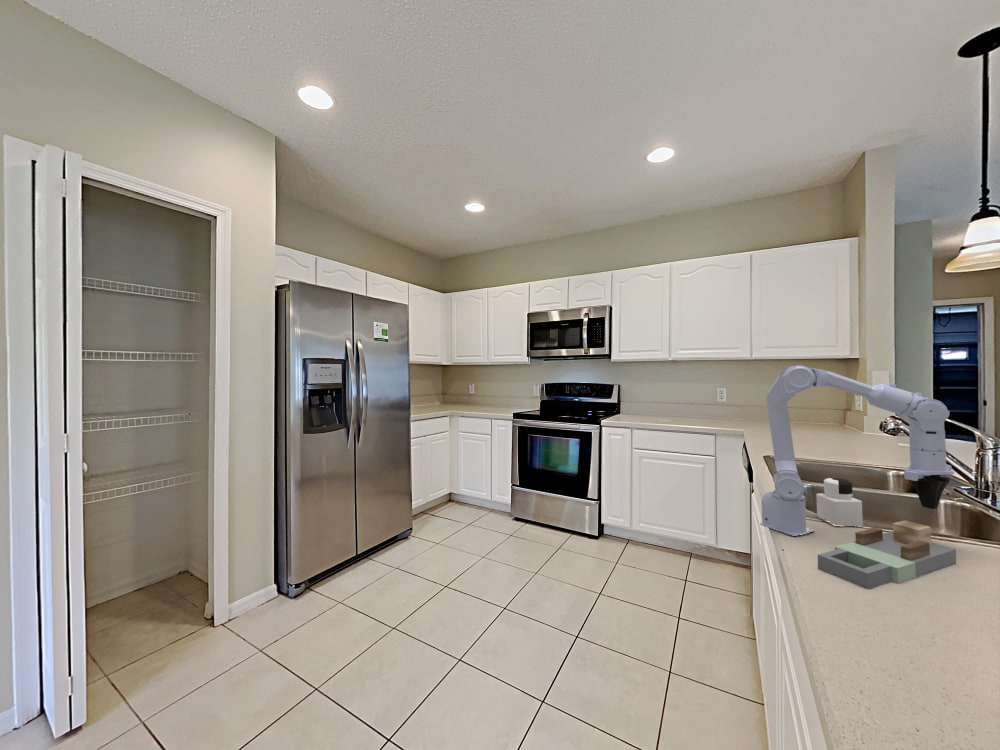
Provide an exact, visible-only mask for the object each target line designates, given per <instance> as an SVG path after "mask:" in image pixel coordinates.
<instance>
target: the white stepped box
mask: <svg viewBox="0 0 1000 750" xmlns="http://www.w3.org/2000/svg"><path fill="white" fill-rule="evenodd" d="M823 491H824V493H816V517H817V516H819V517H820V518H823V519H824V518H825V519H827V520H828V521H830V522H831V523H833V524H835V525H847V526H855V527H854V528H857V527H856V526H864V524H863V523H864V521H863V519H864V518H863V501H862V500H860V499H857V498H855V497H853V495H854V494H853V492H854V491H853V483H852V482H851V481H849V480H848V479H844V478H840V477H838V478H837V477H828V478H825V479H823Z"/></svg>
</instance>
